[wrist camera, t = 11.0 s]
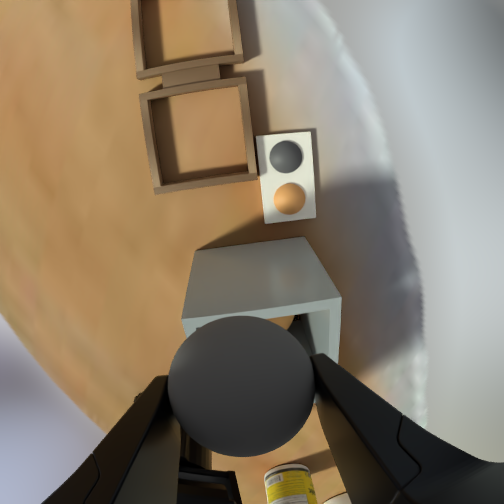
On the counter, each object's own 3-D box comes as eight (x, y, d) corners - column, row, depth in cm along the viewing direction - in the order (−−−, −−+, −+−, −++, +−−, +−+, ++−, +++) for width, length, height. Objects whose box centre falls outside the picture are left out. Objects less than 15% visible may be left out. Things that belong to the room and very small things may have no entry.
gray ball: (301, 375, 11) (328, 466, 7) (192, 390, 11) (187, 485, 7) (295, 279, 9) (336, 373, 6) (161, 299, 9) (133, 399, 6)
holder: (256, 177, 18) (257, 179, 17) (157, 191, 17) (154, 194, 17) (232, -22, 13) (232, -27, 12) (133, -5, 13) (130, -9, 12)
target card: (314, 216, 19) (316, 218, 18) (264, 222, 19) (265, 224, 18) (309, 131, 17) (310, 131, 16) (255, 136, 17) (255, 136, 16)
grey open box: (307, 324, 22) (334, 398, 16) (213, 337, 22) (211, 416, 15) (304, 236, 19) (341, 297, 13) (195, 250, 19) (181, 319, 13)
